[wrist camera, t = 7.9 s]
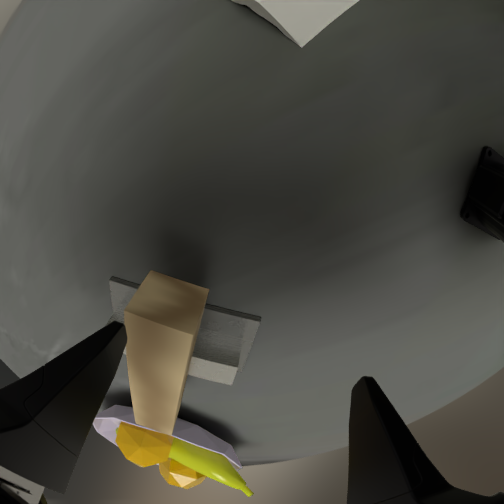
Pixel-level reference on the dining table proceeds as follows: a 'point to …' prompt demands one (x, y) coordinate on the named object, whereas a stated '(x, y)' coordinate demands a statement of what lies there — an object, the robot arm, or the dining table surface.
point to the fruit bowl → (172, 449)
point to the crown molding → (299, 15)
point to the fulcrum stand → (204, 336)
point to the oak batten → (161, 346)
